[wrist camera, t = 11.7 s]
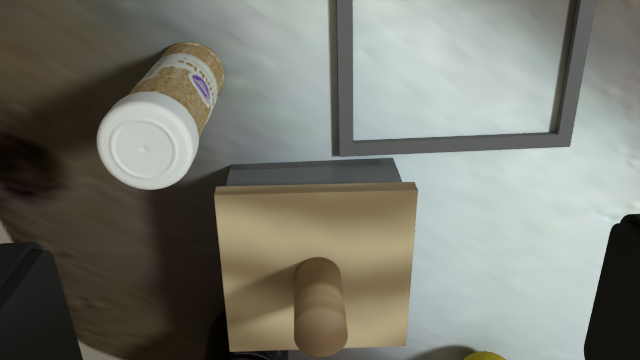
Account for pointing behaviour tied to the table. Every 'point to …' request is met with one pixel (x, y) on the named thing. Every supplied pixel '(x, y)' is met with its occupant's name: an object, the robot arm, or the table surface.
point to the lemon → (483, 356)
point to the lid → (316, 265)
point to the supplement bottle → (219, 352)
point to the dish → (315, 172)
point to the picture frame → (460, 143)
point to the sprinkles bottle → (162, 118)
